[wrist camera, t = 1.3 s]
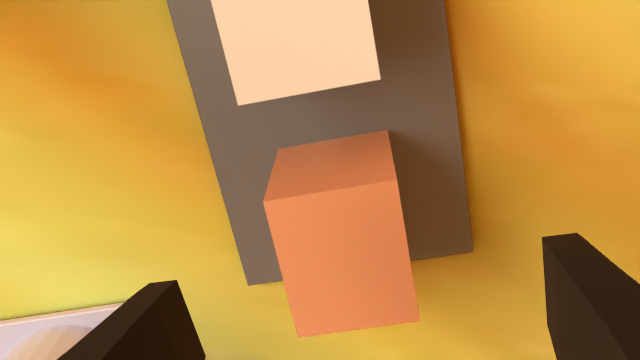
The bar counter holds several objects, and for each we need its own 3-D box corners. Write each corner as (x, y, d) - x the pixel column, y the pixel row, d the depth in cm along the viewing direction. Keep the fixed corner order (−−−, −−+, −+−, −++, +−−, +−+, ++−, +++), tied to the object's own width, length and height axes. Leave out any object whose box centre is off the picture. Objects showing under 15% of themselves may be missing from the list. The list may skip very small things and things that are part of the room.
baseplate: (471, 246, 24) (473, 251, 24) (249, 280, 25) (248, 285, 25) (425, -150, 19) (427, -151, 18) (145, -87, 20) (141, -87, 19)
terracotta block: (407, 250, 24) (420, 320, 20) (306, 265, 24) (298, 337, 20) (387, 129, 22) (396, 179, 18) (278, 148, 22) (262, 201, 18)
